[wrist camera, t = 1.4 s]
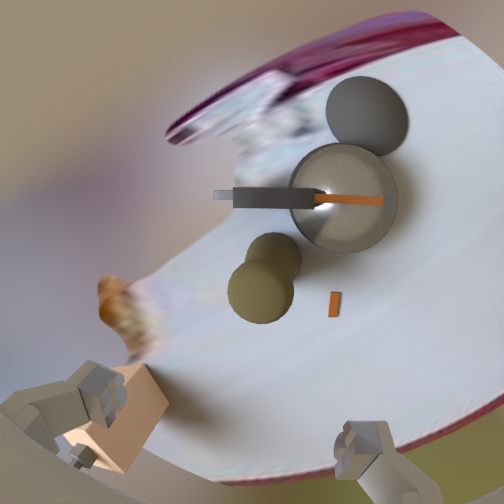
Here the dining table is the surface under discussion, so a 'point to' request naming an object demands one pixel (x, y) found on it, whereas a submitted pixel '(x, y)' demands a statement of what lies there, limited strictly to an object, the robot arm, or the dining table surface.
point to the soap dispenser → (121, 425)
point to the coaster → (366, 114)
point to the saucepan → (334, 198)
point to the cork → (265, 279)
